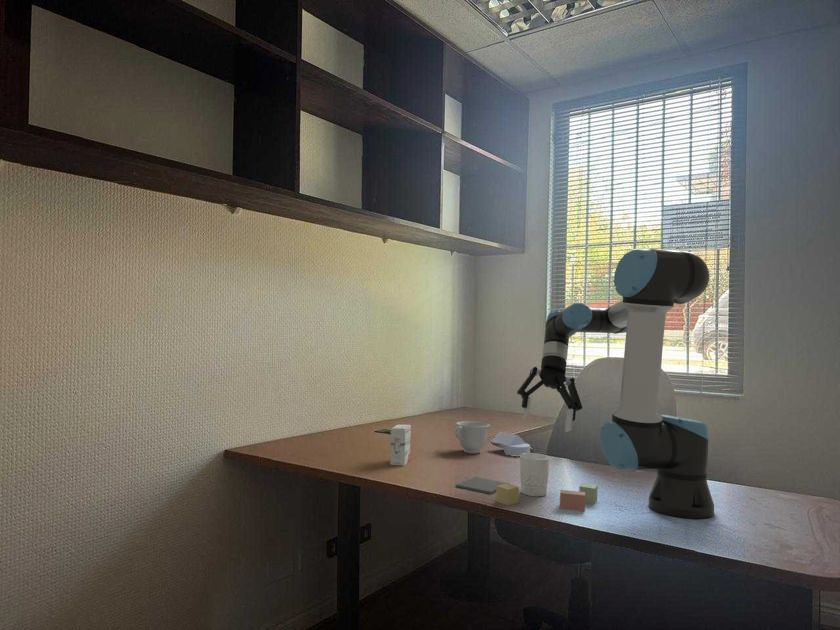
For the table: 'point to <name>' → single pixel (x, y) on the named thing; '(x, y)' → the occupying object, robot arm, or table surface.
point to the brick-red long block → (572, 500)
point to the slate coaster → (480, 485)
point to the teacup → (471, 435)
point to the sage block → (589, 492)
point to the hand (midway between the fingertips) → (547, 425)
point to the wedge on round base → (511, 443)
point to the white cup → (534, 474)
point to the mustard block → (507, 494)
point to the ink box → (400, 444)
